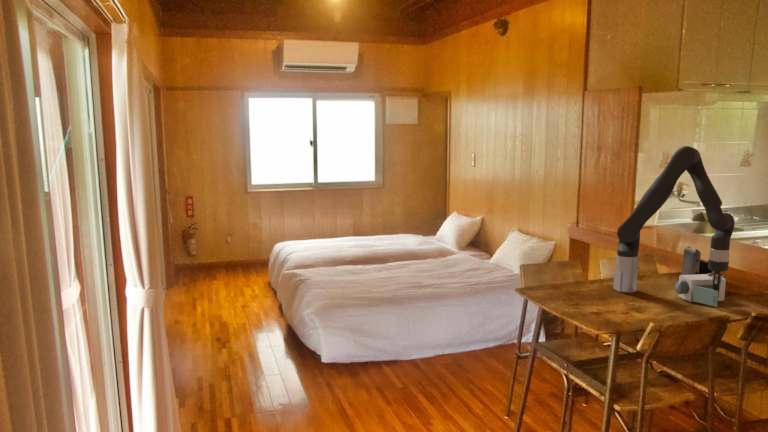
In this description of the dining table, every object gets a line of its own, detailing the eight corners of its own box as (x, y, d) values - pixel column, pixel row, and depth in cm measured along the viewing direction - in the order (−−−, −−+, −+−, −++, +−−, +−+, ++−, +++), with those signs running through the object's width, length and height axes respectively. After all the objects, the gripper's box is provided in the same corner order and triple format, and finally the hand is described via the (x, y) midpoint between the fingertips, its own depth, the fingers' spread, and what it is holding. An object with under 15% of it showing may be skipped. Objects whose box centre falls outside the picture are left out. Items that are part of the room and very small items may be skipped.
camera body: (683, 302, 248) (685, 278, 247) (671, 296, 258) (672, 273, 256) (724, 300, 250) (726, 276, 248) (710, 294, 259) (712, 271, 257)
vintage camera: (722, 291, 266) (726, 250, 263) (689, 290, 266) (693, 249, 264) (710, 286, 276) (714, 246, 273) (679, 285, 276) (683, 245, 273)
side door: (689, 301, 248) (690, 285, 247) (692, 300, 249) (693, 284, 248) (715, 307, 238) (716, 291, 237) (717, 306, 240) (719, 290, 239)
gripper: (710, 255, 247) (707, 292, 250) (707, 260, 237) (704, 300, 239) (730, 257, 243) (726, 295, 246) (728, 263, 232) (724, 303, 235)
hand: (715, 297), depth 243 cm, fingers closed
